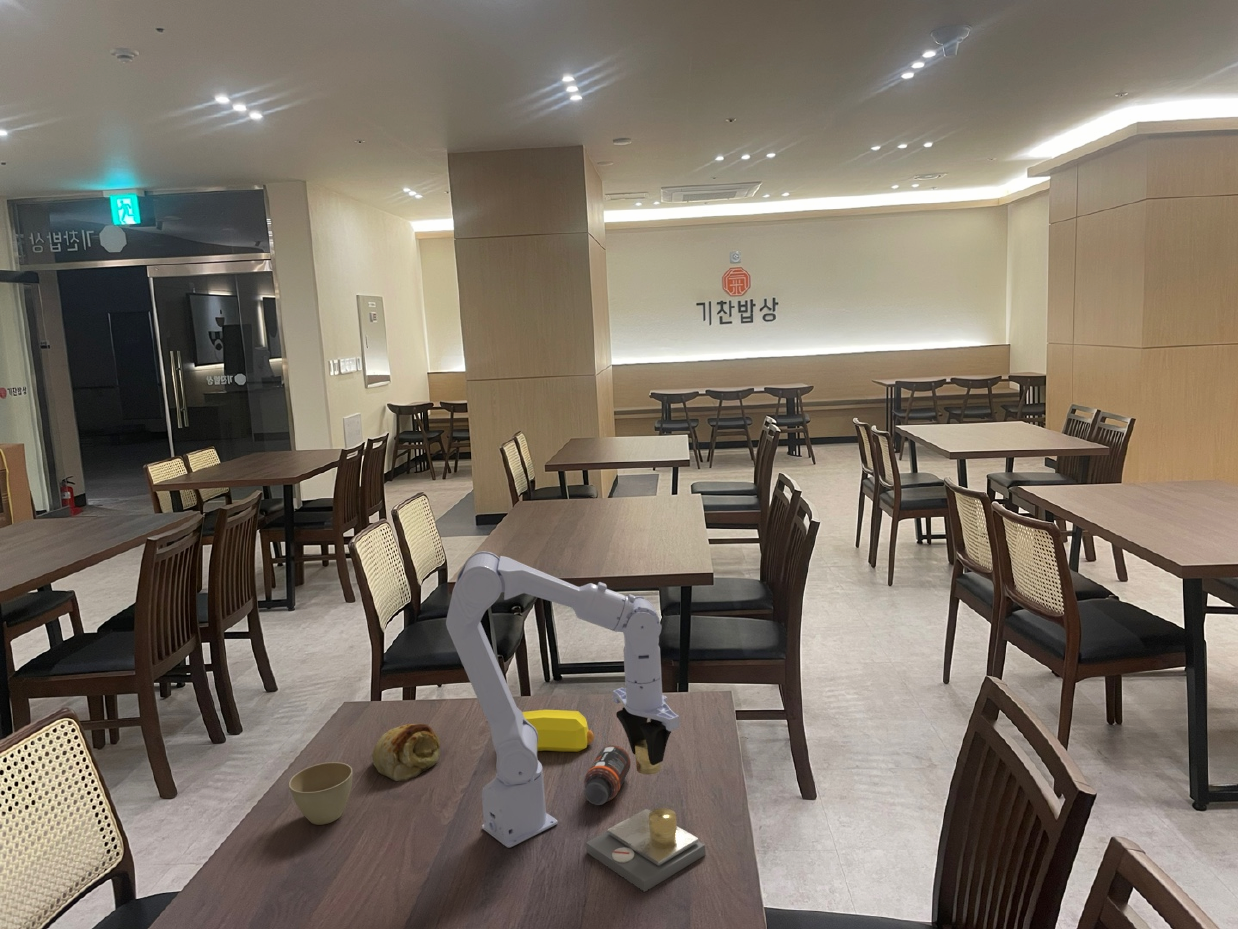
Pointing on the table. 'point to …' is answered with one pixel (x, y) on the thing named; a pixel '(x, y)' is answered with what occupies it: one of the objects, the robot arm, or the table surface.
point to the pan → (638, 838)
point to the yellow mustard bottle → (560, 730)
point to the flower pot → (322, 791)
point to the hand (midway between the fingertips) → (647, 757)
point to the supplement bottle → (606, 774)
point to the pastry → (406, 751)
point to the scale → (639, 861)
